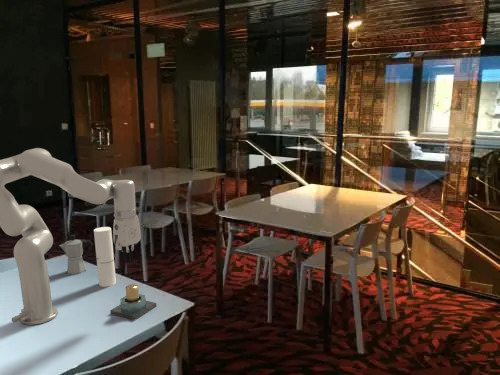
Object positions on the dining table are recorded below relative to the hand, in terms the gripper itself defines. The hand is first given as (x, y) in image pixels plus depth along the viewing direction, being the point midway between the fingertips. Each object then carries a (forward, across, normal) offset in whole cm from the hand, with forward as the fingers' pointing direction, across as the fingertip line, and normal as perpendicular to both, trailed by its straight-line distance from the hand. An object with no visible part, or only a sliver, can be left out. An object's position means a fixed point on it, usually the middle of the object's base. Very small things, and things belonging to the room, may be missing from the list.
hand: (128, 261), depth 160 cm
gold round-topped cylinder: (+18, +1, -1) cm, 18 cm away
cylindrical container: (+20, +16, +28) cm, 38 cm away
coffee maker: (+21, +22, +53) cm, 61 cm away
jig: (+20, +1, -1) cm, 20 cm away
